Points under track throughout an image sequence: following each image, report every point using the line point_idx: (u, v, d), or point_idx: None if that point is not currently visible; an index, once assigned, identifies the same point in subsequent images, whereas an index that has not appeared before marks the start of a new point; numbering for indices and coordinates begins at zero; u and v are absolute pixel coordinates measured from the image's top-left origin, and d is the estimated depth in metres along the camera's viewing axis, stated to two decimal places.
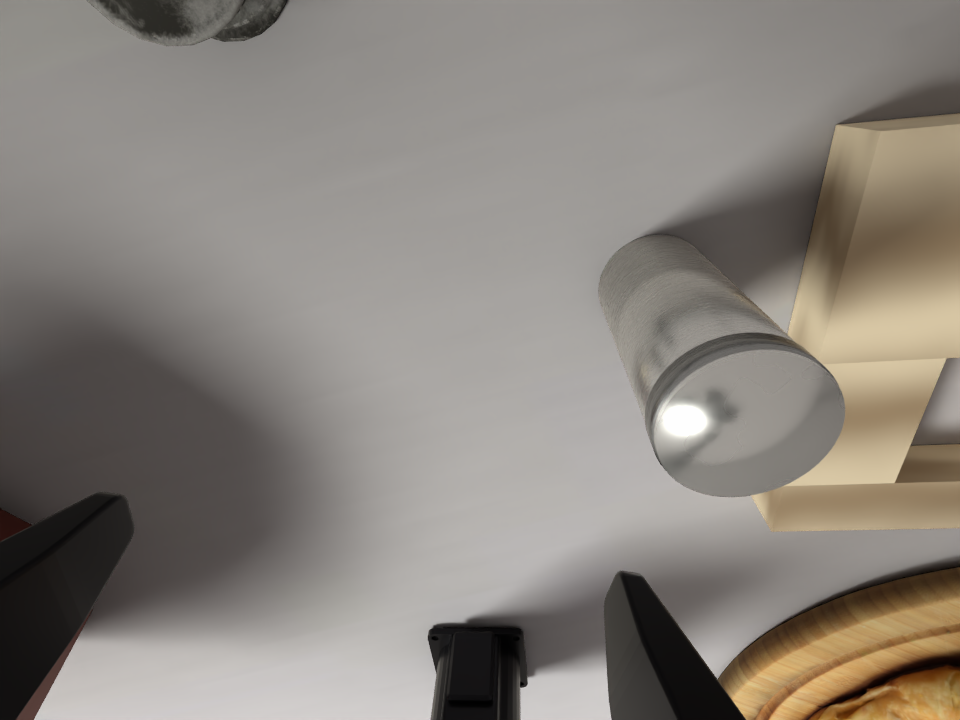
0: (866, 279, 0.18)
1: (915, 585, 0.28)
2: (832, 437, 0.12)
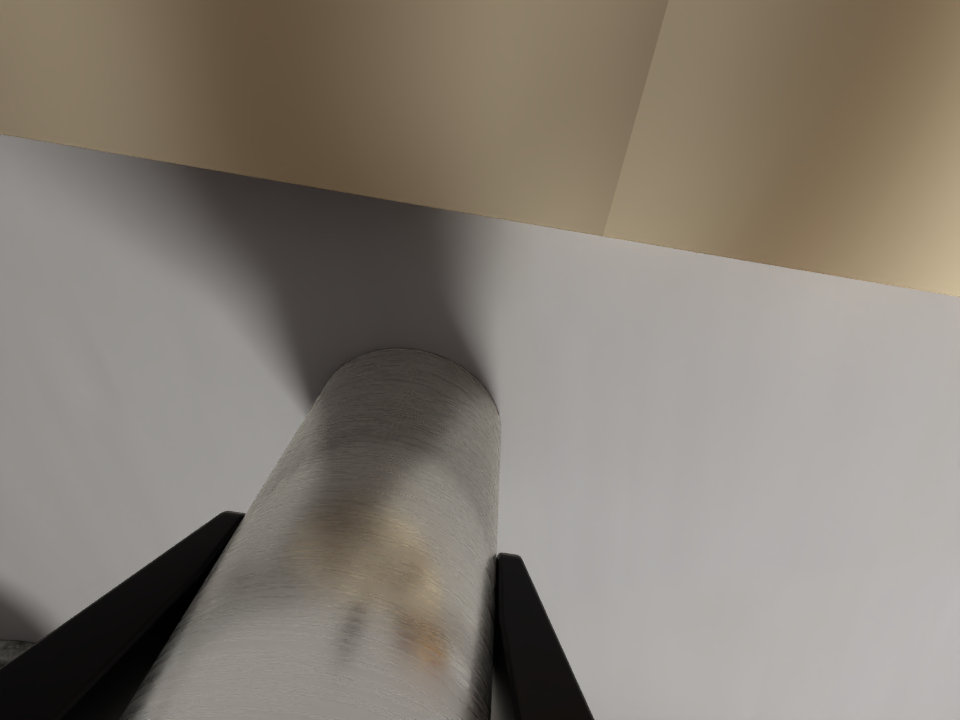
0: (361, 123, 0.07)
1: None
2: None
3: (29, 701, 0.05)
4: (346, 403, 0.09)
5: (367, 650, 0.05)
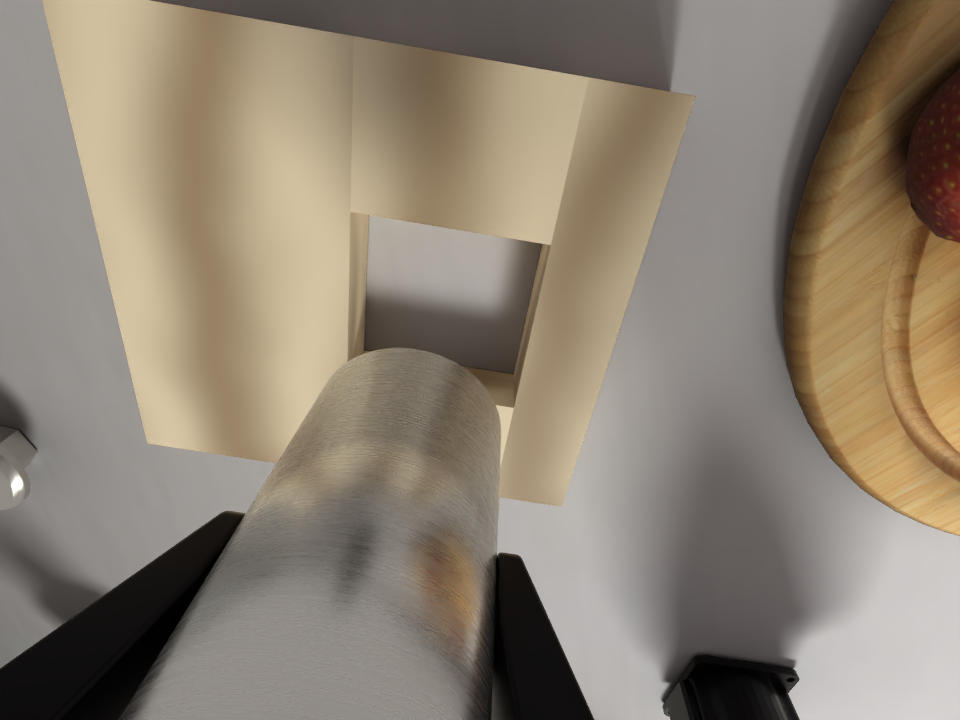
0: (263, 444, 0.21)
1: (786, 308, 0.18)
2: None
3: (29, 701, 0.05)
4: (346, 403, 0.09)
5: (367, 648, 0.05)
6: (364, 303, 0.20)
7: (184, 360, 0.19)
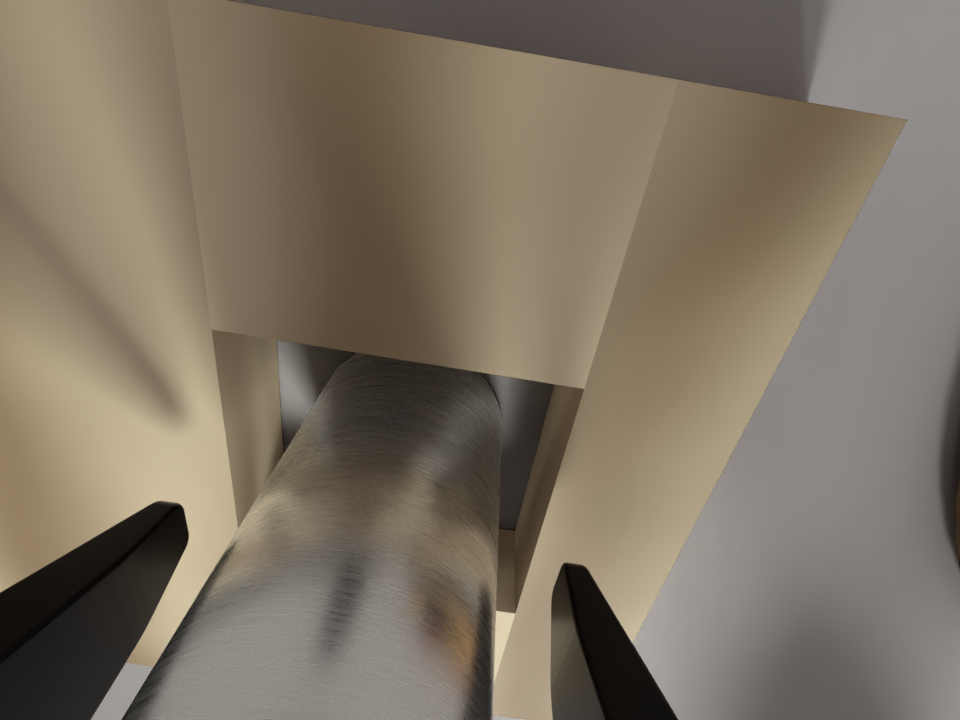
0: None
1: None
2: None
3: None
4: (351, 394, 0.10)
5: (375, 625, 0.06)
6: (278, 436, 0.13)
7: None
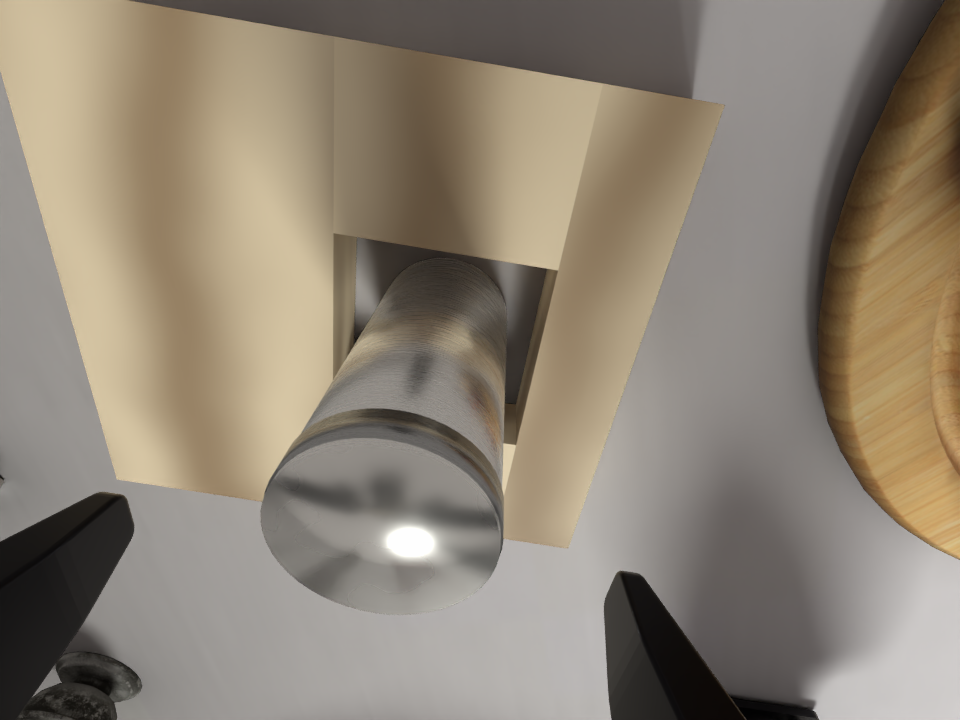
0: (242, 481, 0.19)
1: (822, 326, 0.16)
2: (404, 457, 0.08)
3: None
4: (413, 281, 0.15)
5: (446, 356, 0.11)
6: (352, 329, 0.18)
7: (153, 392, 0.17)
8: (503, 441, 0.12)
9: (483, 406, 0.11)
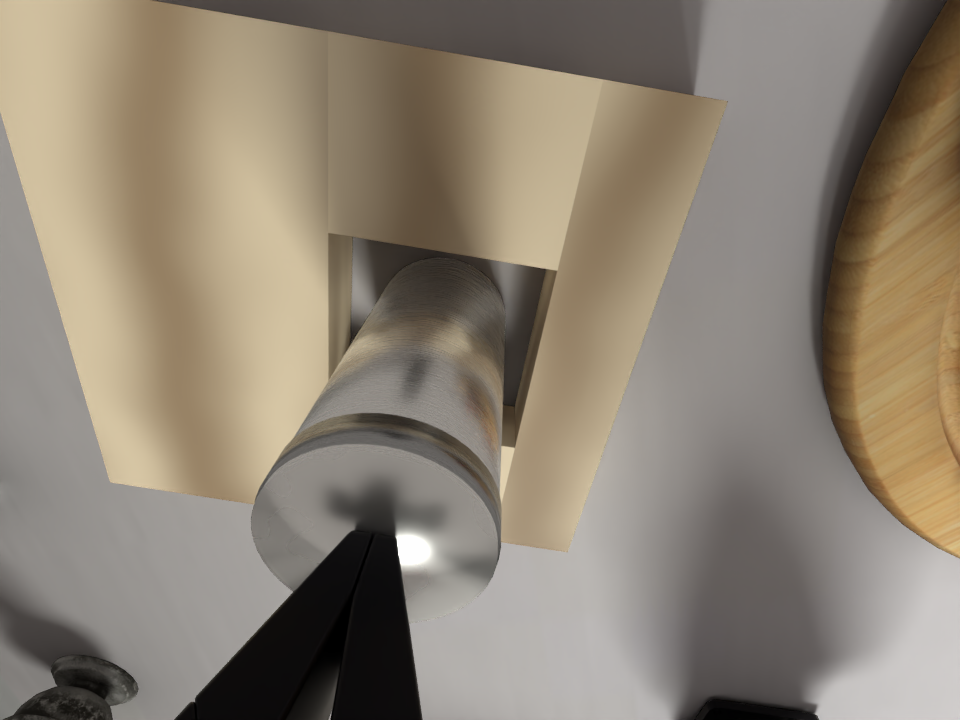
0: (237, 484, 0.19)
1: (827, 322, 0.16)
2: (397, 464, 0.08)
3: None
4: (409, 281, 0.15)
5: (442, 358, 0.11)
6: (349, 330, 0.18)
7: (146, 394, 0.17)
8: None
9: (480, 410, 0.10)
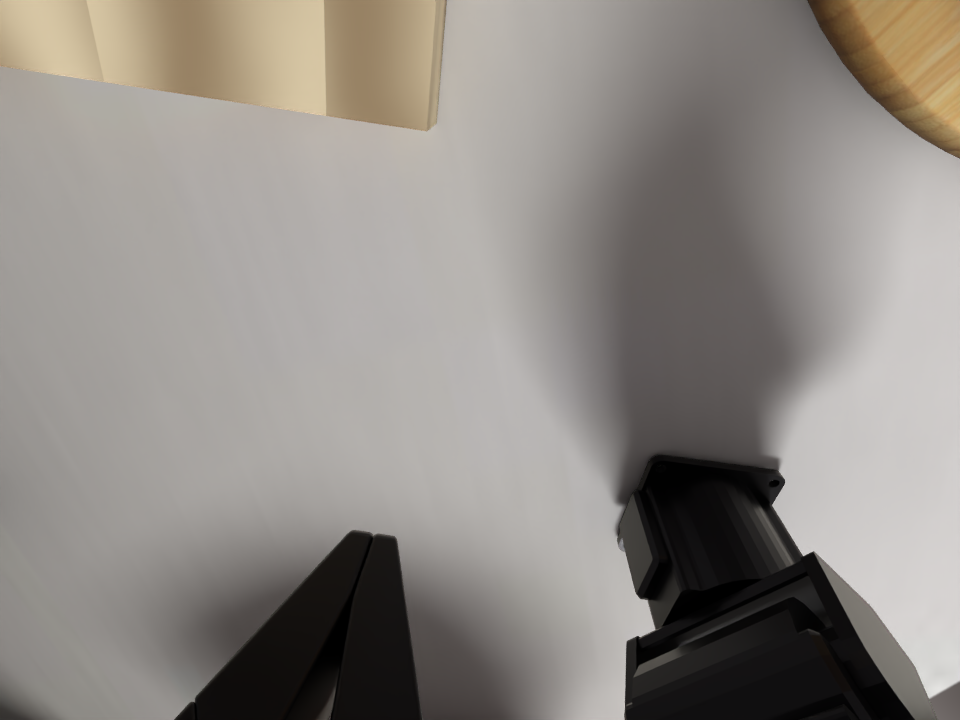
0: None
1: None
2: None
3: None
4: None
5: None
6: None
7: None
8: None
9: None
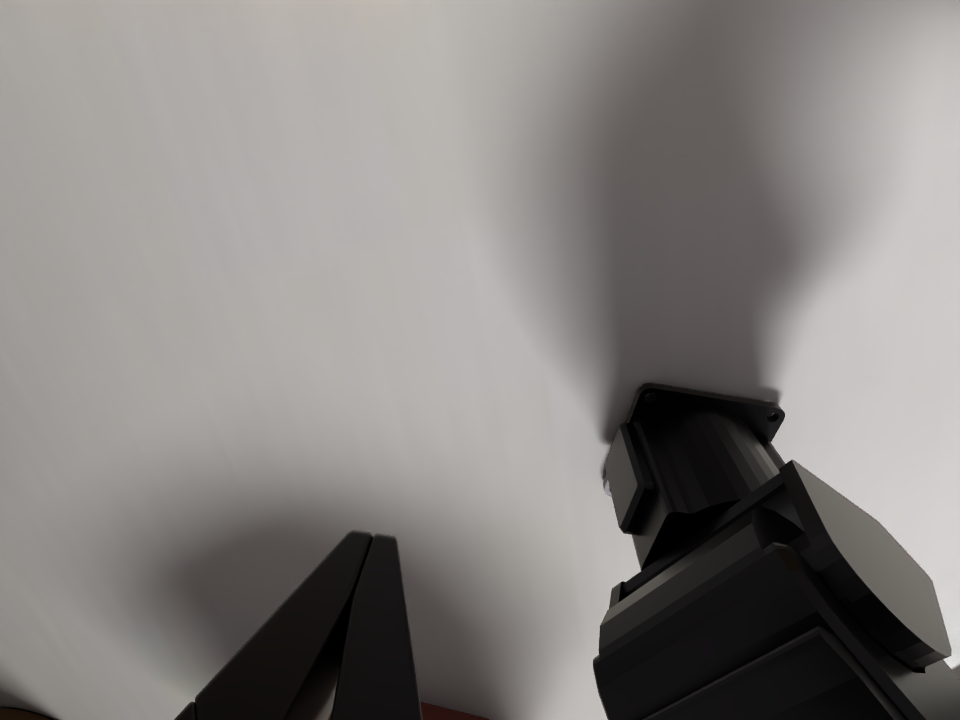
0: None
1: None
2: None
3: None
4: None
5: None
6: None
7: None
8: None
9: None
